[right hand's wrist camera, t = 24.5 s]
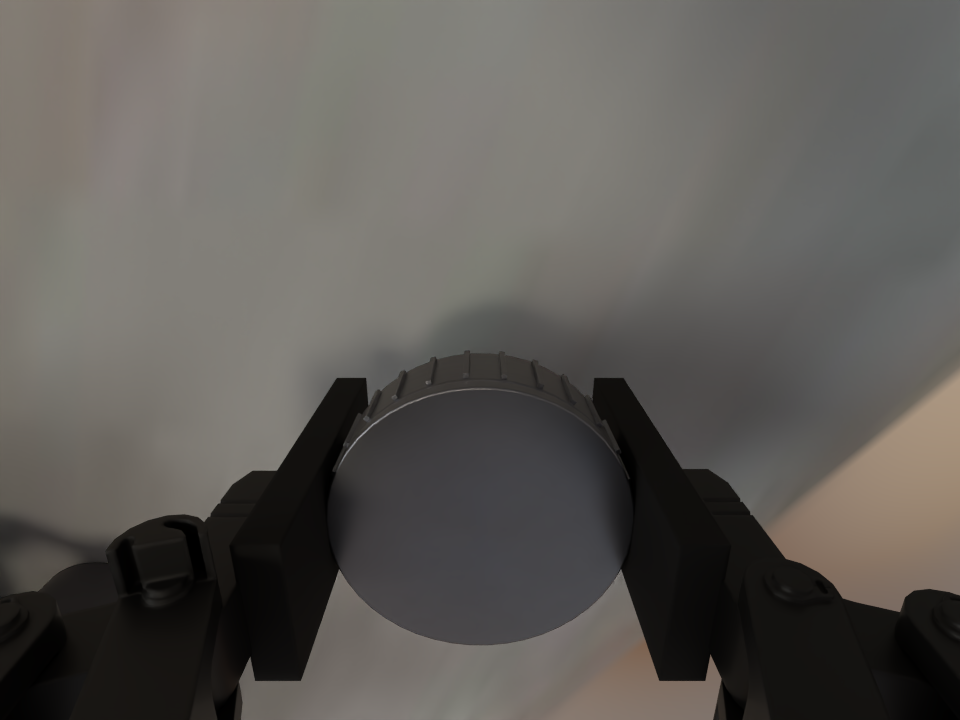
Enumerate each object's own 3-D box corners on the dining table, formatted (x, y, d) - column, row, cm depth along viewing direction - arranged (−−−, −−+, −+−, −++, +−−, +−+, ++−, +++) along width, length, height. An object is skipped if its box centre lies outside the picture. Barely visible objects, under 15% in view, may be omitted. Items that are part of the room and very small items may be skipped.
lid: (489, 625, 14) (491, 692, 12) (289, 486, 12) (258, 540, 11) (673, 467, 12) (705, 518, 10) (467, 288, 11) (464, 313, 9)
